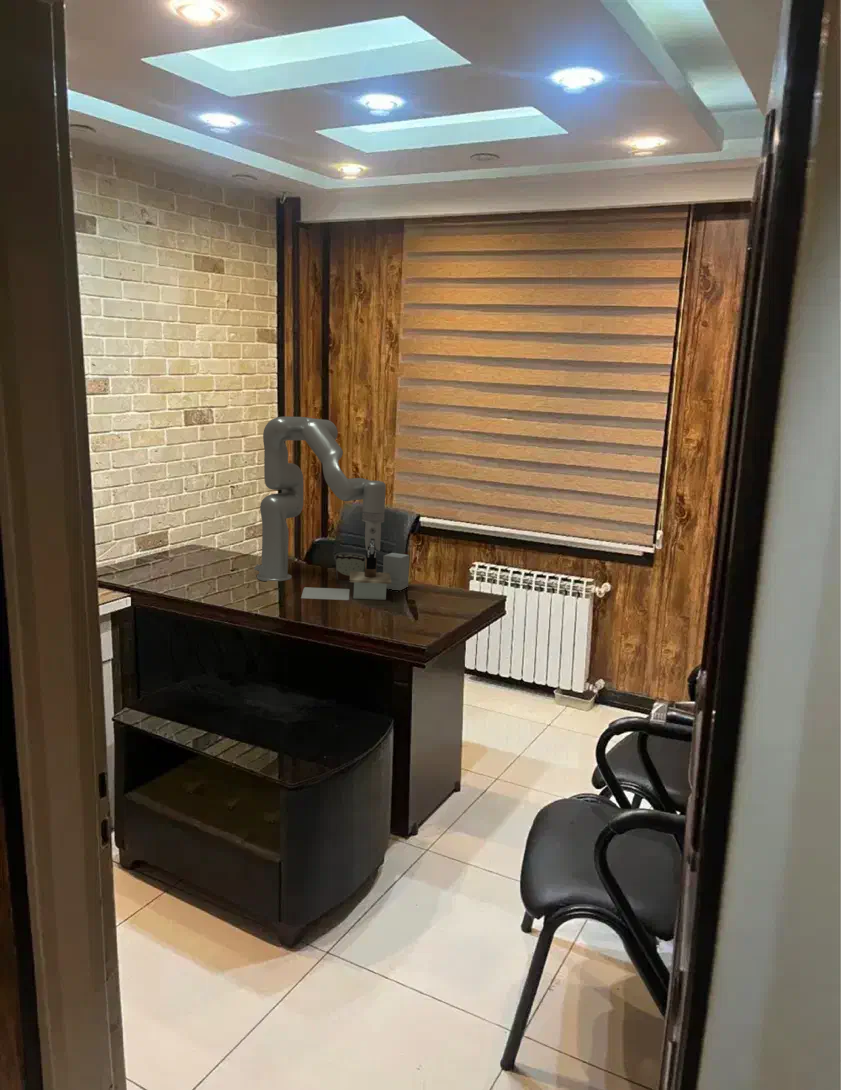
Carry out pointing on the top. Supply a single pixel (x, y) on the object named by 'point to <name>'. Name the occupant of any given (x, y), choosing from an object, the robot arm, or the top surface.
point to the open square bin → (369, 591)
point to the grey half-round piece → (348, 564)
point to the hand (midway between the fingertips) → (370, 566)
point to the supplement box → (396, 570)
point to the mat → (325, 593)
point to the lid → (370, 576)
